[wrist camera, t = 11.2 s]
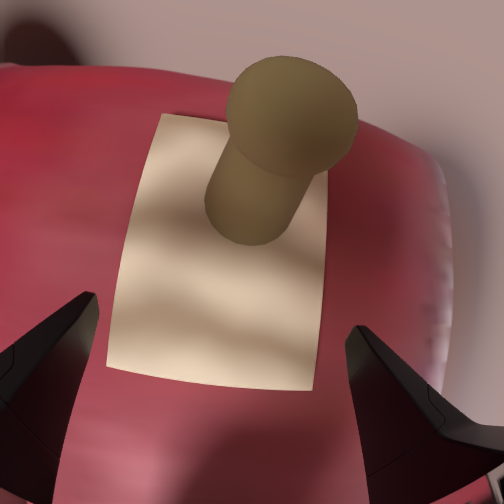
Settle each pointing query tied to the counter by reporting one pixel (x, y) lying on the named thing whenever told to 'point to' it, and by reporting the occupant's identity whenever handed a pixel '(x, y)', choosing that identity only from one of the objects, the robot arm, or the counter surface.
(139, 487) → the counter surface
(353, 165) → the counter surface
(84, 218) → the counter surface
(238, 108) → the cork
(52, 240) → the counter surface
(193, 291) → the birch board
